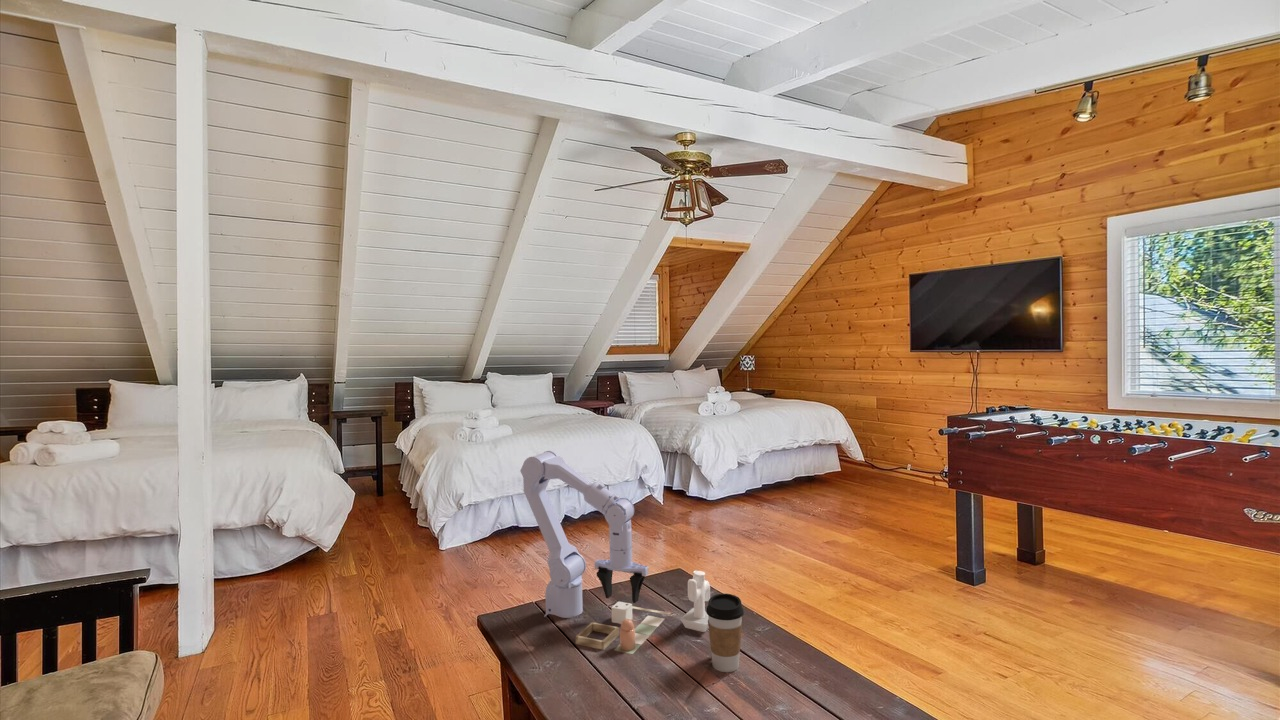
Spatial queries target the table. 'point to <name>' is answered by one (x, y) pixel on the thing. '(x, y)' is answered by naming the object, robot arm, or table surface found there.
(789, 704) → the table surface
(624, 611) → the die
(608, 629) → the game board
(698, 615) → the figurine
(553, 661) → the table surface
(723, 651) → the coffee cup
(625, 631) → the pawn
